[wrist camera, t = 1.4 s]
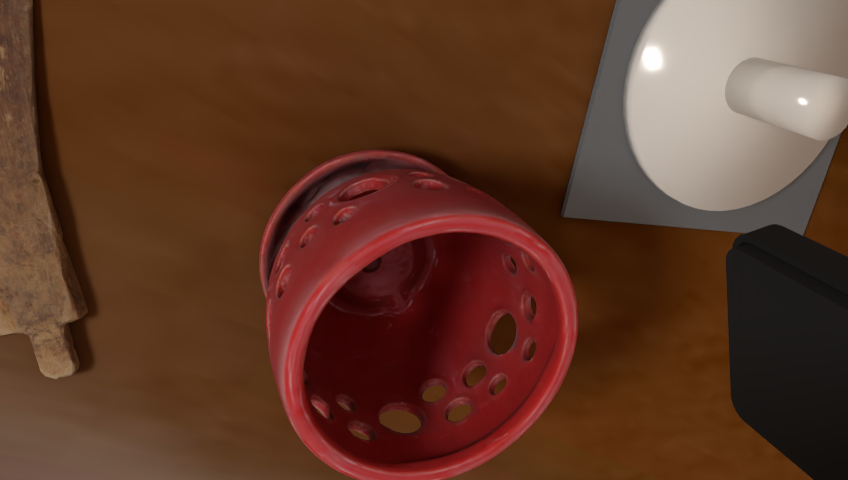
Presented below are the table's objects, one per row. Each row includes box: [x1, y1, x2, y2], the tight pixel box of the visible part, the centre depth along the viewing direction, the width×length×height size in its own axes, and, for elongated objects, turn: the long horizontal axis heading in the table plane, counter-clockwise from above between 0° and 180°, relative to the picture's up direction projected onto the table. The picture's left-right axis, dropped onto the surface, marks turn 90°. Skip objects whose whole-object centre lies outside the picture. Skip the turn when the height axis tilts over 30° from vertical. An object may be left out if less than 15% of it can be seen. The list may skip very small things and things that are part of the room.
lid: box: [623, 0, 848, 211], centre depth 42 cm, size 15×15×7 cm
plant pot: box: [259, 149, 578, 480], centre depth 37 cm, size 13×13×12 cm
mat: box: [560, 0, 841, 236], centre depth 45 cm, size 18×18×1 cm
